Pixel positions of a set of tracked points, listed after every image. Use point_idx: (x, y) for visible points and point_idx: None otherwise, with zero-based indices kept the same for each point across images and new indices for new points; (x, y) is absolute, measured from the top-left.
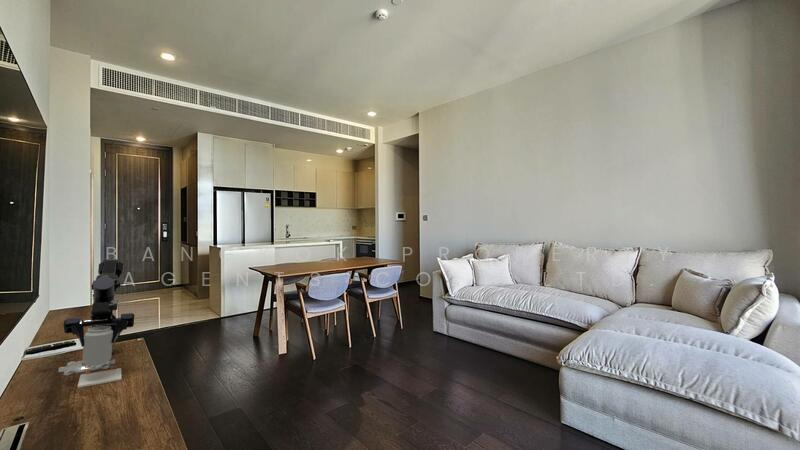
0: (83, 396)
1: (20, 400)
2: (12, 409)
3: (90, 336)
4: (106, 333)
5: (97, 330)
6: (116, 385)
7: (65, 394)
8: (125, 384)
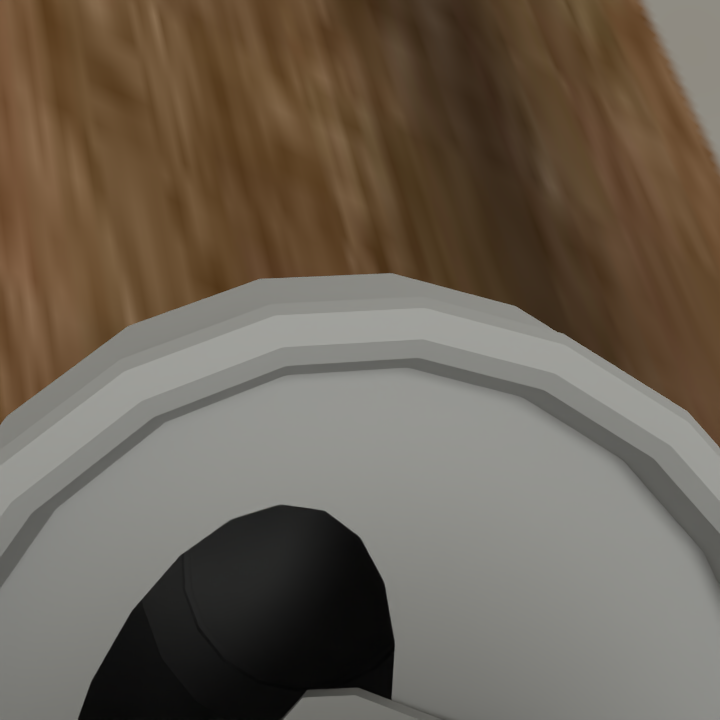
0: (292, 127)
1: (688, 244)
2: (661, 98)
3: (506, 307)
4: (41, 397)
5: (363, 319)
6: (85, 268)
7: (434, 231)
8: (10, 260)
